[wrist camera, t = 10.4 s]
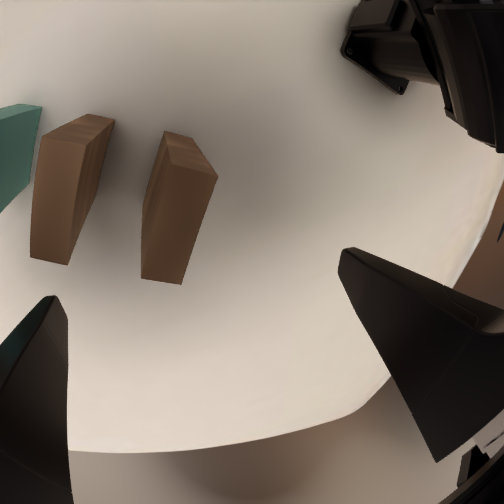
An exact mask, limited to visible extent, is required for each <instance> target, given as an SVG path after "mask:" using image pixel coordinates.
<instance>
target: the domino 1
mask: <svg viewBox="0 0 504 504" xmlns="http://www.w3.org/2000/svg"><path fill="white" fill-rule="evenodd" d="M41 110H42V107H40V106H32V105H24V104H16V105H12V106H8V107H4V108H1V109H0V213H1V212H2V211H3V210H4V209H5V207H6V206H7V205H8V204H9V203H10V202H11V201H12V200H13V199H14V198H15V197H16V196H17V195H18V194H19V193H20V192H21V191H22V190H23V189H24V188H25V187H26V186H27V185H28V184H29V180H30V171H31V163H32V156H33V150H34V144H35V138H36V133H37V128H38V123H39V118H40V114H41Z"/></svg>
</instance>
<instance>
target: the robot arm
mask: <svg viewBox="0 0 504 504" xmlns="http://www.w3.org/2000/svg"><path fill="white" fill-rule="evenodd" d="M347 49H349V51H350V54H348V53H347ZM341 53H342V55H343V56H344V57H345V58H347V59H348V60H350V61H351V62H353V63H354V64H356V65H357V66H359V67H360V68H362V69H363V70H365V71H366V72H367V73H369V74H370V75H372V76H373V77H374V78H376V79H377V80H379V81H380V82H381V83H383V84H384V85H385V86H387V87H388V88H389V89H391V90H392V91H393V92H394V93H396V94H399V95H402V94H404V92H405V90H406V88H407V85H408V82H409V80H413V81H419V82H425V83H430V84H435V85H440V88H441V91H442V95H443V99H444V103H445V107H444V109H445V113H446V116H448V117H449V118H451V119H452V120H453V121H455V122H456V123H458V124H459V125H460V126H462V127H463V128H464V129H466V130H467V133H468V135H469V136H470V137H472V138H474V139H476V140H478V141H480V142H483V143H485V144H486V145H489V146H490V147H493V148H496V152H497V153H504V0H362V2H361V3H359V4H358V6H357V9H356V11H355V13H354V16H353V18H352V20H351V22H350V25H349V32H348V34H347V36H346V39H345V41H344V43H343V45H342V48H341ZM399 87H400V90H399ZM338 275H339V278H340V280H341V282H342V284H343V286H344V288H345V291H346V293H347V295H348V297H349V299H350V301H351V304H352V306H353V308H354V310H355V312H356V314H357V316H358V317H359V319H360V321H361V322H362V324H363V326H364V328H365V329H366V331H367V333H368V335H369V336H370V338H371V340H372V341H373V343H374V345H375V347H376V349H377V350H378V352H379V354H380V356H381V357H382V359H383V361H384V363H385V365H386V366H387V368H388V370H389V372H390V374H391V376H392V377H393V379H394V381H395V383H396V385H397V386H398V389H399V390H400V392H401V394H402V396H403V398H404V400H405V402H406V404H407V406H408V408H409V409H410V411H411V413H412V416H413V418H414V419H415V422H416V423H417V426H418V427H419V430H420V432H421V434H422V436H423V438H424V440H425V442H426V444H427V446H428V448H429V450H430V452H431V454H432V456H433V458H434V460H435V462H436V463H437V462H439V461H440V460H442V459H443V458H445V457H446V456H447V455H449V454H450V453H452V452H453V451H454V450H456V449H457V448H459V447H460V446H461V445H463V444H464V443H465V442H466V441H468V440H469V439H470V438H471V437H472V438H473V440H474V441H475V443H476V445H475V446H474V447H472V448H471V449H470V450H469V451H468V452H466V453H465V454H464V455H463V456H462V460H461V466H460V472H459V476H458V481H457V487H458V489H456V490H455V491H454V492H453V493H451V494H450V495H449V496H448V497H446V498H445V499H444V500H442V501H441V502H440V503H439V504H504V310H503V309H501V308H498V307H496V306H493V305H491V304H488V303H485V302H483V301H481V300H478V299H475V298H473V297H470V296H468V295H465V294H463V293H461V292H459V291H456V290H454V289H452V288H450V287H447V286H445V285H444V286H443V285H442V284H440V283H438V282H436V281H434V280H431V279H429V278H427V277H425V276H422V275H420V274H418V273H415V272H413V271H411V270H408V269H406V268H404V267H401V266H399V265H397V264H394V263H392V262H389V261H387V260H385V259H382V258H380V257H377V256H375V255H373V254H370V253H368V252H365V251H363V250H360V249H358V248H355V247H350V248H345V249H343V250H342V252H341V256H340V261H339V266H338ZM67 383H68V319H67V315H66V313H65V311H64V309H63V307H62V305H61V303H60V301H59V299H58V297H57V296H55V295H52V296H46V297H44V298H43V299H42V300H41V301H40V302H39V303H38V304H37V305H36V306H35V307H34V308H33V309H32V310H31V311H30V312H29V313H28V314H27V315H26V317H25V318H24V319H23V320H22V321H21V322H20V323H19V324H18V325H17V326H16V328H15V329H14V330H13V331H12V332H11V333H10V334H9V335H8V337H7V338H6V339H5V340H4V341H3V342H2V344H1V345H0V504H74V502H73V495H72V493H71V492H72V489H71V480H70V471H69V460H68V442H67Z"/></svg>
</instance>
